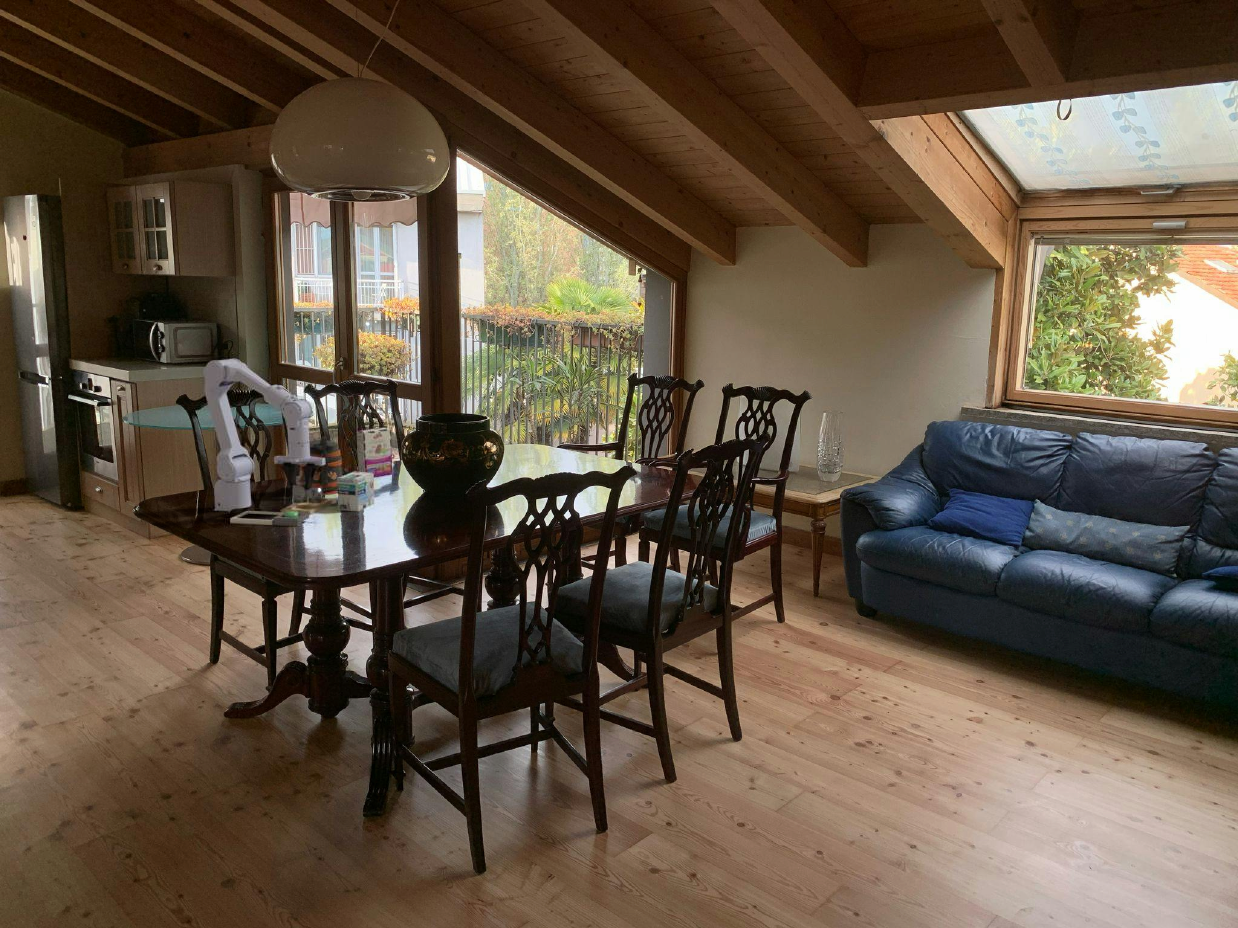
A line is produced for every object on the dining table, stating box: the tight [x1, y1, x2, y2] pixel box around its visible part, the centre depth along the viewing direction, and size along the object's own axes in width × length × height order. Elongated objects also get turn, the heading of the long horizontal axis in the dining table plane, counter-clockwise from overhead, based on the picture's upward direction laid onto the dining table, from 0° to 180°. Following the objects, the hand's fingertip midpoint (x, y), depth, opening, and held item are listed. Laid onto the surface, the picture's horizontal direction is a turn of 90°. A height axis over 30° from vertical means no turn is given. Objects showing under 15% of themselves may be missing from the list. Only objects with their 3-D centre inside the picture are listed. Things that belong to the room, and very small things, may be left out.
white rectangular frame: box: [229, 510, 282, 526], centre depth 261 cm, size 12×9×2 cm
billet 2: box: [307, 486, 324, 503], centre depth 277 cm, size 4×4×5 cm
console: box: [272, 512, 310, 527], centre depth 258 cm, size 7×7×2 cm
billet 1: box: [292, 482, 308, 503], centre depth 267 cm, size 4×4×5 cm
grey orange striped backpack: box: [297, 436, 343, 496], centre depth 293 cm, size 19×15×20 cm
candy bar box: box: [356, 427, 393, 478], centre depth 325 cm, size 11×5×16 cm, turn 138°
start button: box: [284, 511, 298, 518], centre depth 258 cm, size 4×4×2 cm
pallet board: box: [279, 497, 337, 516], centre depth 273 cm, size 9×17×2 cm, turn 173°
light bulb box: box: [337, 471, 375, 512], centre depth 275 cm, size 11×7×11 cm, turn 168°
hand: (301, 488), depth 268 cm, fingers closed on billet 1, 4 cm apart
